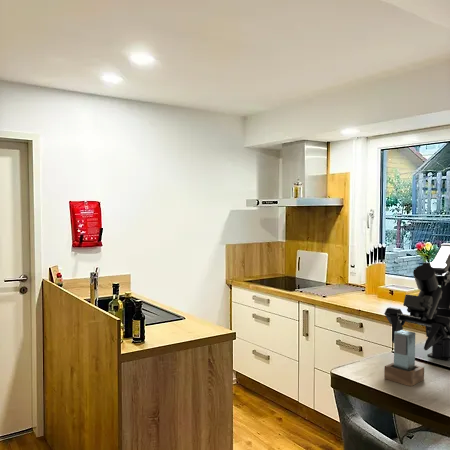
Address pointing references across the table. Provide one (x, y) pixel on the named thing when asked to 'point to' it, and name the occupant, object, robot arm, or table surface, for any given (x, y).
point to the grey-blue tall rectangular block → (404, 350)
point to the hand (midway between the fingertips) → (408, 345)
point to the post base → (404, 375)
